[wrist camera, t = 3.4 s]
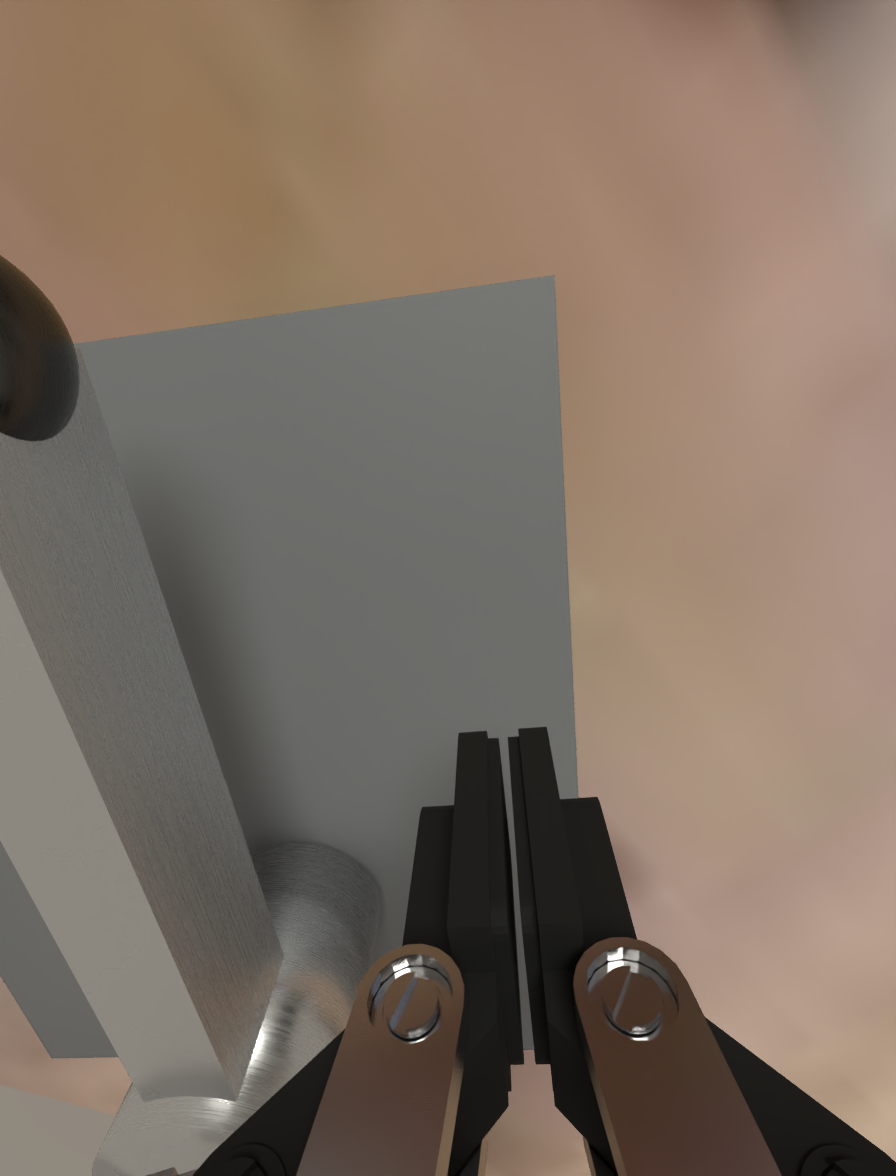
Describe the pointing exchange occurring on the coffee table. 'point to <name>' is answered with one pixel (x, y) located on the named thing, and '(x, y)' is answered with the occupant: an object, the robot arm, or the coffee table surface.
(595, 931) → the robot arm
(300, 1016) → the bar with ball ends
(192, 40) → the coffee table surface
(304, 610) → the stand plate
